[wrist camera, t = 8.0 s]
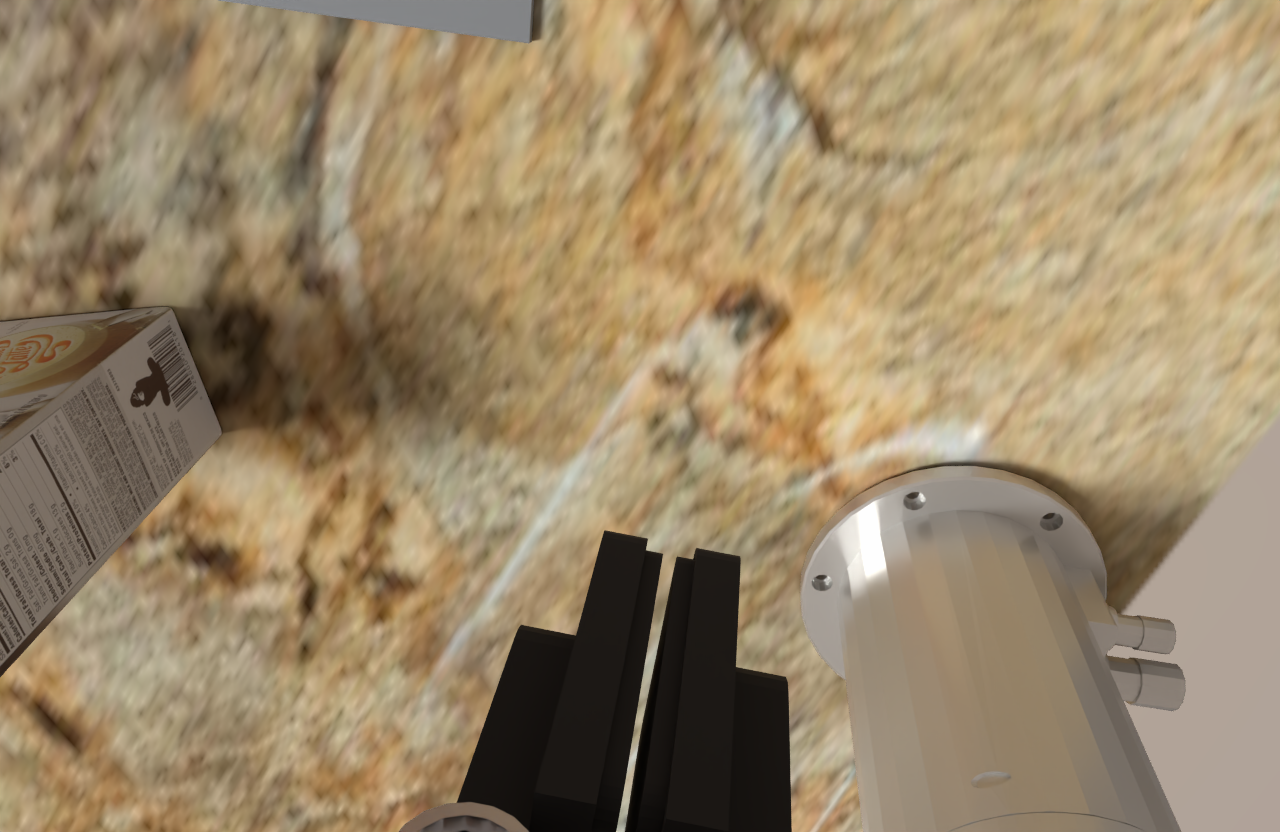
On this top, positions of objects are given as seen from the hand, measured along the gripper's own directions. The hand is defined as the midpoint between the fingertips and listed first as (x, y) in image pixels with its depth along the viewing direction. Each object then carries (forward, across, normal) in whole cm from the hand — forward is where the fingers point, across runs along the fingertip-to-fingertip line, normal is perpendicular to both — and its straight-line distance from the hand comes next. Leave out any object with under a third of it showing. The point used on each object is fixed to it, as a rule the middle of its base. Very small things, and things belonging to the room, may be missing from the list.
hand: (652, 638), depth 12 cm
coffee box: (+26, +24, +14) cm, 38 cm away
